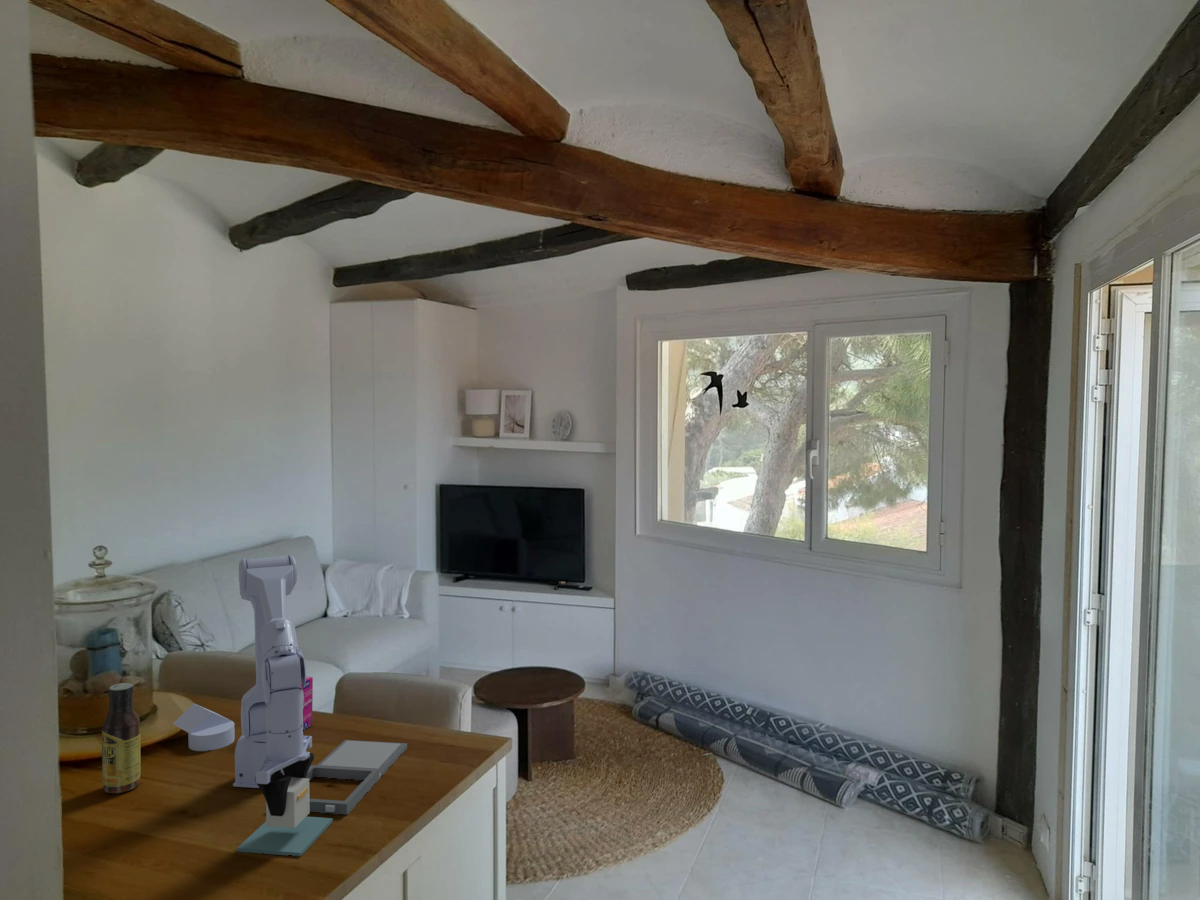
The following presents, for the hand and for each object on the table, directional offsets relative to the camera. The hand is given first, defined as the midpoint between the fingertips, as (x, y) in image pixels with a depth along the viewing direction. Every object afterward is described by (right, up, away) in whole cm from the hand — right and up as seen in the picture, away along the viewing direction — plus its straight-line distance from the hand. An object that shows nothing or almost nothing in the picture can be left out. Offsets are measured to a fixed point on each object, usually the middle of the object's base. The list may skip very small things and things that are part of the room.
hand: (286, 806), depth 133 cm
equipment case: (+3, -4, +22) cm, 23 cm away
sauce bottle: (-38, -5, +17) cm, 42 cm away
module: (0, -2, 0) cm, 2 cm away
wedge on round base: (-33, -4, +40) cm, 52 cm away
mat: (0, -5, 0) cm, 5 cm away
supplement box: (-16, -3, +46) cm, 49 cm away
